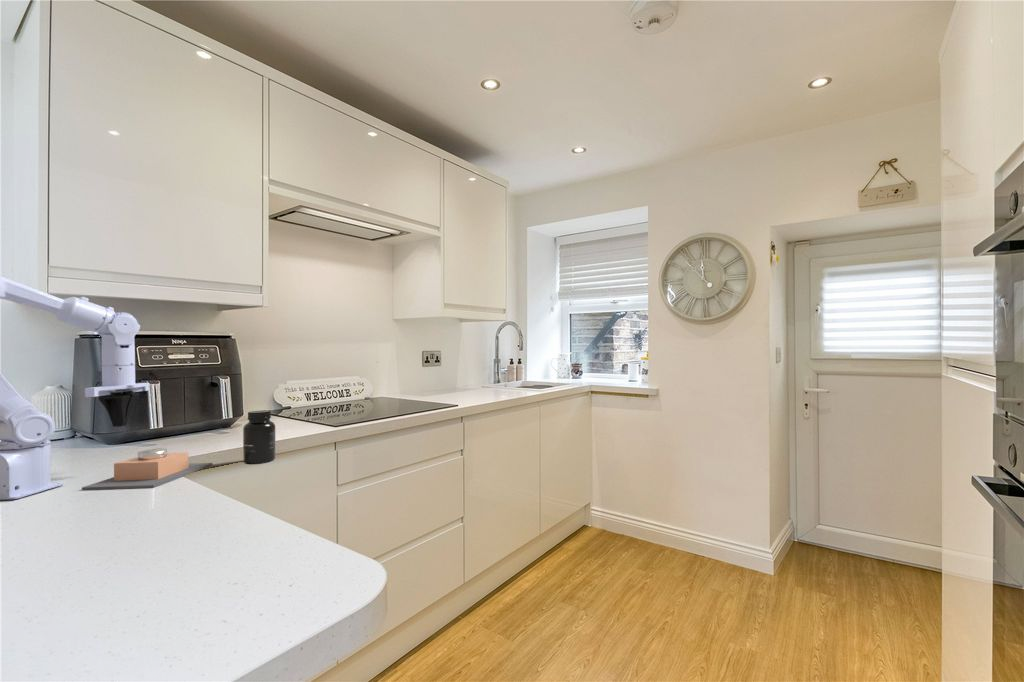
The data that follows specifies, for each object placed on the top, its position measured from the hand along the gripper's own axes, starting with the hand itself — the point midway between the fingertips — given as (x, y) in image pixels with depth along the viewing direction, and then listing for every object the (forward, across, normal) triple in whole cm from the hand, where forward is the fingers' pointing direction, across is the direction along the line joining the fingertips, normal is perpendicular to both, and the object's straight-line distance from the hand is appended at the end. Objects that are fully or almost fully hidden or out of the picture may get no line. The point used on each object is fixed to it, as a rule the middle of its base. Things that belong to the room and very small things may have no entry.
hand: (119, 426), depth 104 cm
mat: (+10, -4, -11) cm, 16 cm away
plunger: (+10, -4, -11) cm, 15 cm away
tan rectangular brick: (+10, -4, -11) cm, 16 cm away
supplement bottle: (+11, +7, -28) cm, 30 cm away
